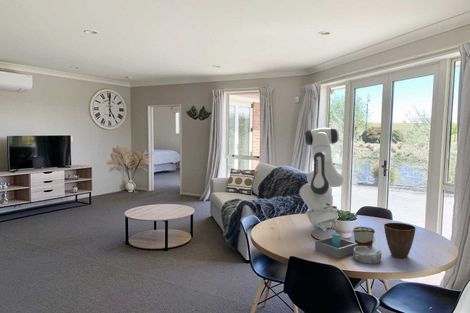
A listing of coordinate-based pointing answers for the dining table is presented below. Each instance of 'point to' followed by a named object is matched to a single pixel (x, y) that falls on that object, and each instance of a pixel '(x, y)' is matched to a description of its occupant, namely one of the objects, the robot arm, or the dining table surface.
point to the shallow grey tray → (328, 249)
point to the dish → (366, 255)
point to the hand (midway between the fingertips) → (331, 229)
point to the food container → (363, 236)
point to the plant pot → (399, 238)
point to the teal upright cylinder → (336, 240)
